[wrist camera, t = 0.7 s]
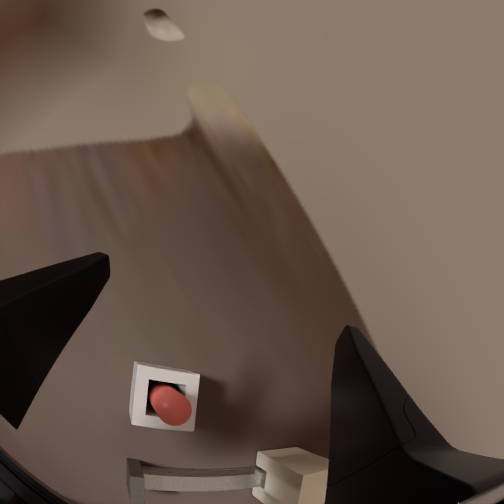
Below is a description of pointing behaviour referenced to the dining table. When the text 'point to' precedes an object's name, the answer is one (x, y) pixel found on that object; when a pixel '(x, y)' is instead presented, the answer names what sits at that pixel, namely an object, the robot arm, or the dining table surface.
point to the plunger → (169, 404)
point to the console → (182, 378)
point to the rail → (188, 479)
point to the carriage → (292, 477)
